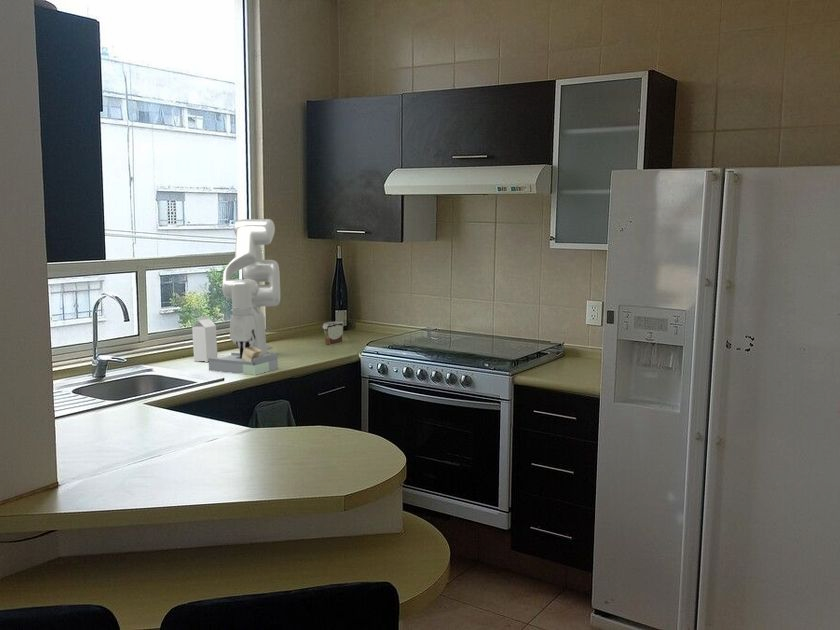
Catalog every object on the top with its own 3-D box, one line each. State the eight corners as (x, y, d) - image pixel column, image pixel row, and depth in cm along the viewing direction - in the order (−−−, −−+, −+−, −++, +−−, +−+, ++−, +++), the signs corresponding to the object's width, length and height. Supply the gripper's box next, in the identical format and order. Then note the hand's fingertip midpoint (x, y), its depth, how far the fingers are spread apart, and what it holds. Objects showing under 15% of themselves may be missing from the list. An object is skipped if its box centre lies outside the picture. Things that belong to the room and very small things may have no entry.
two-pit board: (232, 364, 338) (231, 349, 337) (277, 368, 327) (277, 352, 326) (209, 370, 326) (208, 354, 325) (255, 375, 315) (254, 358, 314)
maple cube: (250, 357, 323) (252, 346, 321) (259, 362, 320) (261, 350, 319) (241, 359, 318) (243, 348, 317) (250, 364, 316) (252, 353, 315)
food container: (335, 341, 393) (334, 320, 392) (344, 342, 390) (343, 321, 388) (317, 344, 383) (316, 324, 382) (327, 345, 380) (326, 324, 378)
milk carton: (217, 359, 350) (215, 316, 347) (207, 362, 344) (204, 318, 341) (204, 358, 353) (202, 315, 350) (193, 361, 346) (191, 317, 344)
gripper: (221, 312, 320) (223, 358, 322) (250, 314, 312) (252, 360, 315) (234, 310, 326) (236, 355, 328) (263, 312, 319) (265, 357, 321)
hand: (244, 357), depth 321 cm, fingers closed
